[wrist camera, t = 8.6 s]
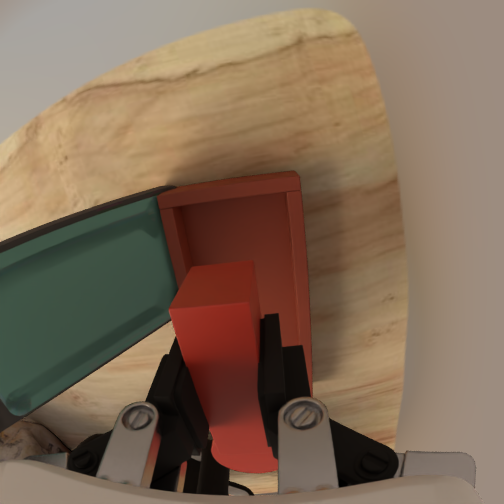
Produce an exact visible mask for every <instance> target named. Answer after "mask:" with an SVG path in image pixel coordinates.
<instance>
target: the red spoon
mask: <svg viewBox="0 0 504 504" xmlns="http://www.w3.org/2000/svg"><path fill="white" fill-rule="evenodd" d="M169 313H170V317H171V320H172V323H173V327H174V330H175V333H176V337H177V340H178V343H179V346H180V349H181V352H182V355H183V358H184V361H185V364H186V367H188V369H189V372H190V375H191V377H192V380H193V383H194V386H195V389H196V392H197V395H198V397H199V400H200V403H201V405H202V408H203V411H204V413H205V416H206V419H207V421H208V424H209V430H210V432H211V435H212V437H213V441H212V448H211V452H212V455H213V457H214V458H215V460H216V461H217V462H219V463H220V464H221V465H223V466H225V467H227V468H229V469H232V470H236V471H240V472H246V473H266V472H272V471H276V470H278V460H277V459H275V458H274V457H273V453H272V448H271V447H268V445H267V440H266V436H265V431H264V426H263V421H262V416H261V411H260V406H259V401H258V391H257V381H258V363H259V362H260V319H262V317H261V310H260V303H259V296H258V289H257V282H256V275H255V268H254V261H253V260H248V261H240V262H231V263H222V264H213V265H204V266H194V267H191V269H190V271H189V272H188V274H187V276H186V278H185V280H184V281H183V283H182V285H181V287H180V289H179V290H178V292H177V294H176V296H175V298H174V300H173V301H172V303H171V305H170V307H169Z"/></svg>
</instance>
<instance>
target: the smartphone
mask: <svg viewBox="0 0 504 504" xmlns="http://www.w3.org/2000/svg"><path fill="white" fill-rule="evenodd" d="M175 188H178V187H176V186H160V187H156V188H153V189H149V190H146V191H142V192H139V193H136V194H132V195H129V196H126V197H122V198H119V199H116V200H113V201H110V202H107V203H103V204H100V205H97V206H94V207H91V208H88V209H85V210H82V211H80V212H77V213H74V214H71V215H68V216H65V217H63V218H60V219H57V220H54V221H52V222H49V223H46V224H44V225H41V226H39V227H36V228H33V229H31V230H28V231H26V232H23V233H21V234H18V235H16V236H14V237H11V238H9V239H6V240H4V241H2V242H0V433H1V432H2V431H4V430H5V429H7V428H9V427H10V426H12V425H13V424H15V423H16V422H18V421H20V420H21V419H23V418H24V417H26V416H27V415H29V414H30V413H32V412H33V411H35V410H37V409H38V408H40V407H41V406H43V405H44V404H46V403H47V402H49V401H50V400H52V399H53V398H55V397H57V396H58V395H60V394H61V393H63V392H64V391H66V390H67V389H69V388H70V387H72V386H73V385H75V384H76V383H78V382H79V381H81V380H83V379H84V378H86V377H87V376H89V375H90V374H92V373H93V372H95V371H96V370H98V369H99V368H101V367H102V366H104V365H105V364H107V363H108V362H110V361H111V360H113V359H114V358H116V357H117V356H119V355H120V354H122V353H123V352H125V351H126V350H128V349H129V348H131V347H132V346H134V345H135V344H137V343H138V342H140V341H141V340H143V339H144V338H146V337H147V336H149V335H150V334H152V333H153V332H155V331H156V330H158V329H159V328H161V327H162V326H164V325H165V324H167V323H168V322H170V321H171V317H170V313H169V307H170V305H171V303H172V301H173V300H174V298H175V296H176V294H177V292H178V290H179V288H178V285H177V281H176V277H175V273H174V269H173V265H172V261H171V257H170V253H169V249H168V245H167V241H166V237H165V232H164V228H163V223H162V219H161V214H160V209H159V205H158V201H157V196H158V195H159V194H161V193H163V192H166V191H169V190H172V189H175Z"/></svg>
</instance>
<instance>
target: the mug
mask: <svg viewBox="0 0 504 504" xmlns="http://www.w3.org/2000/svg"><path fill="white" fill-rule="evenodd" d="M101 435H103V434H95V435H92V436H90V437H88V438H87V439H85V440H84V441H83V442H81V444H80V445H79V446H78V447H80V446H82V445H84V444H86V443H88V442H90V441H91V440H93V439H95V438H97V437H99V436H101ZM212 441H213V440H210V439H207V445H206V448H201V454H200V456H191V458H190V459H188V460H187V468H186V474H185V480H184V487H183V493H189V494H202V495H223V496H229V494H231V495H234V496H254V494H253V492H252V491H251V490H250V489H249V488H247V487H245V486H243V485H240V484H237V483H234V482H231V481H229V468H227V467H225V466H223V465H221V464H220V463H219V462H217V461H216V460H215V458H214V457H213V455H212V452H211V448H212ZM78 447H77V448H78Z"/></svg>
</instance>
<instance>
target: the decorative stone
mask: <svg viewBox="0 0 504 504" xmlns="http://www.w3.org/2000/svg"><path fill="white" fill-rule="evenodd" d="M64 452H67V453H68V454H69V455H70V454H71V453H72V452H71V451H70V450H69V449H68V448H67V447H66V446H64V444H63V443H62V442H60V440H59V439H58V438H57V437H56V436H55V435H54V434H52V433H51V432H50V431H49V430H48V429H46V428H45V427H44V426H42V425H40V424H36V423H32V422H27V421H21V420H20V421H18V422H16V423H15V424H13V425H12V426H10V427H9V428H7V429H5V430H4V431H2V432H1V433H0V463H1V462H3V461H7V460H20V459H22V460H23V459H24V458H26V457H28V456H33V455H45V454H55V453H64Z"/></svg>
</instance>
